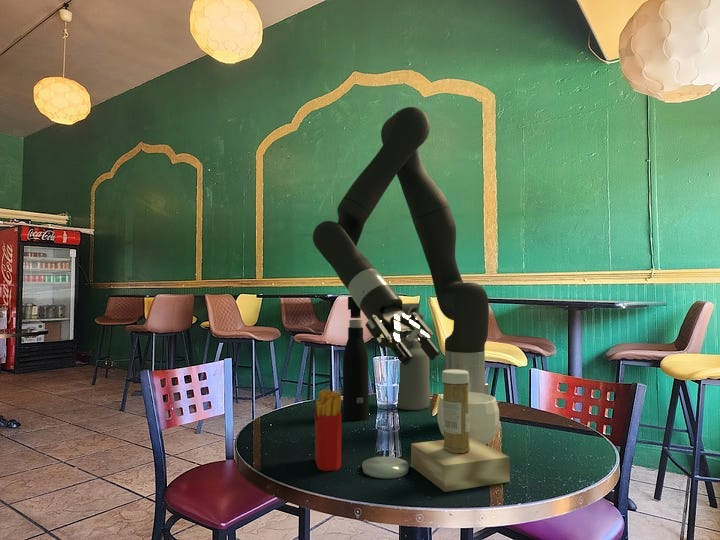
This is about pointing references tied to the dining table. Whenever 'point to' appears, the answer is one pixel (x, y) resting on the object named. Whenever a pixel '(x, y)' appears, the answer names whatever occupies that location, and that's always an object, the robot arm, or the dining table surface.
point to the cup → (477, 416)
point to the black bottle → (355, 370)
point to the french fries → (328, 430)
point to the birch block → (460, 465)
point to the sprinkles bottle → (455, 410)
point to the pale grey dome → (385, 467)
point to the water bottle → (414, 371)
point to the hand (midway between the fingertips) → (423, 359)
